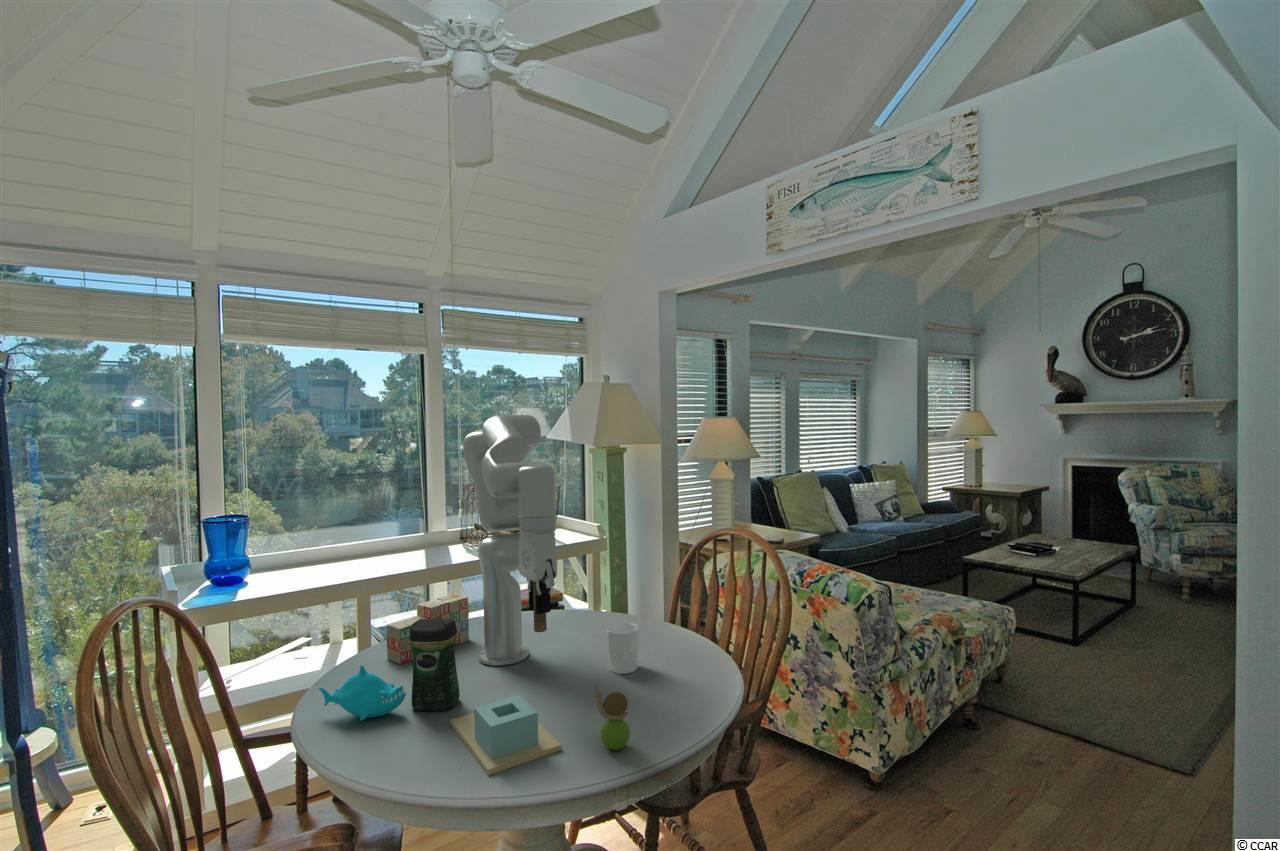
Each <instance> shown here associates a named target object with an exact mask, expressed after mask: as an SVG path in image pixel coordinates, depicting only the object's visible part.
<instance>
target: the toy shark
mask: <svg viewBox="0 0 1280 851" xmlns="http://www.w3.org/2000/svg"><path fill="white" fill-rule="evenodd" d="M359 667H360V669H359V672H358V673H356V674H354V675H352V676H350V677H348V678H347V680H346V681H345V682H344V683H343V684H342V686H340V687H339V688H335V691H334V693H333V694H331V693H329V692H328V691H327V690H326V689H325V688H323V687H322V686H321V687H319V688H318V690H319V691H320V693H322V695H323V698H324V707H326V706H327V705H328V704H329V703H334V706H335V705H339V706H340V707H341V708H343V709H344V710H345V711H346V712H347V713H349V714H351V715H353V716H356V717H358V718H359V721H361V722H362V721H363V720H366V718H367V719H368V718H369V719H370V718H378V717H382V716H385V715H387V714H389V713H391V712H393V711H394V710H396V709H397V708H398V707H400V705H402V702H403V701H404V699H405V697H406V695H407V692H406V691H405V687H404V686H403V685H398V686H397V687H395V685H394V683H391V682H390V683H387V682H385V680H383V678H381V677H380V676H378V675H377V674H375V673H372V672H367V670H366V669H365V667H364V666H363V665H362V664H360V666H359Z"/></svg>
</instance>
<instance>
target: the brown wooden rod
mask: <svg viewBox="0 0 1280 851" xmlns="http://www.w3.org/2000/svg"><path fill="white" fill-rule="evenodd" d="M544 578H546V577H545V576H543V578H542V579H544ZM544 583H545V582H544ZM544 583H541V586H542V584H544ZM535 595H537V586H536V582H534V581H533V607H534V610H533V631H534V632H535V633H544V632H546V631H547V628H548V627H547V625H548V624H547V613H543V614H536V609H535Z"/></svg>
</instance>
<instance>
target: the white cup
mask: <svg viewBox="0 0 1280 851" xmlns="http://www.w3.org/2000/svg"><path fill="white" fill-rule="evenodd" d="M639 627H640V626H639V625H638V624H636V623H632V622H617V623H612V624H609V625H608V626H606V637H607V638H606V642H607V653H608V660H609V661H608V662H609V669H610V672H612V673H613V674H619V675H620V674H621V675H626V674H631V673H634V672H636V671H637V670H638V662H639V661H638V657H639V641H640V640H639V633H640V632H639V631H640V630H639V629H640V628H639Z"/></svg>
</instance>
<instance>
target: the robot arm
mask: <svg viewBox="0 0 1280 851" xmlns="http://www.w3.org/2000/svg"><path fill="white" fill-rule="evenodd" d="M541 430H542V429H541V425H540V423H539V421H538V420H537V418H536V417H535V416H533V415H530V414H502V415H501V414H500V415H499V414H498V415H495V416H494V415H493V416H491V417H490V418H487V420H486V421H484V424H483V425H482V430H477V431H473V432H470V433H468V434H467V435H466V436H465V437H464V439H463V443H462V444H463V446H462V450H463V451H462V452H463V458H464V461H465V465H466V467H467V469H468V472H469V474H470V476H471V478H472V480H473V483H474V485H475V486H474V487H475V493H476V494H475V495H476V500H477V502H476V503H477V509H478V515H479V521H480V526H481V528H483V530H484V531H486V532H491V533H493V532H494V533H495V532H507V531H517V530H519V532H516V533H515V532H514V533H505V534H495V535H491V536H488V537H486V538H484V539H483V540H482V541H481V542H480V543H479V546H478V549H477V550H478V559H479V566H480V570H481V578H482V594H483V595H482V597H483V598H482V599H483V623H484V625H483V627H484V628H483V630H484V631H483V632H484V649H482V650H481V651H480V652H479V654H478V660H479V662H480V663H482V664H484V665H486V666H495V667H497V666H498V667H499V666H501V667H502V666H508V665H509V666H510V665H513V664H516V663H519V662H522V661H524V660H525V659H526V658H527V657H528V656H529V648H528V647H527V646H525V645H523V622H522V620H523V618H522V590H521V585H520V583H519V582H518V581H517V579H516V578H515V577H514V576H512V574H511V573H512V572H514V571H515V572H516V571H518V572H519V575H520V576H522V577H523V578H526V580H527V590H528V609H529V610H530V611H532V612H533V611H534V607H533V581H534V582H536V586H537V595H535V609H536V614H543V613H546V614H547V613H550V612H551V609H552V608H551V607H552V606H551V593H552V588H553V587H555V586H556V581H555V579H556V578H557V575H558V559H557V558H558V556H557V545H556V544H557V543H556V536H555V531H556V530H557V527H556V525H557V524H556V523H557V522H556V520H557V519H556V492H555V491H556V490H555V489H556V486H555V482H556V481H555V470H554V468H553V467H552V466H551V465H548V464H546V463H545V462H542V461H525V460H526V459H527V458H528V457H529V456H530V454H531V453H532V452H533V451H534V450H535V449H537V447H538V445H539V443H540V441H541V437H542V431H541ZM524 461H525V462H524ZM543 576H545V578H544V579H542V578H543ZM544 582H545V583H544ZM541 583H544V584H542V586H541Z"/></svg>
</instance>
